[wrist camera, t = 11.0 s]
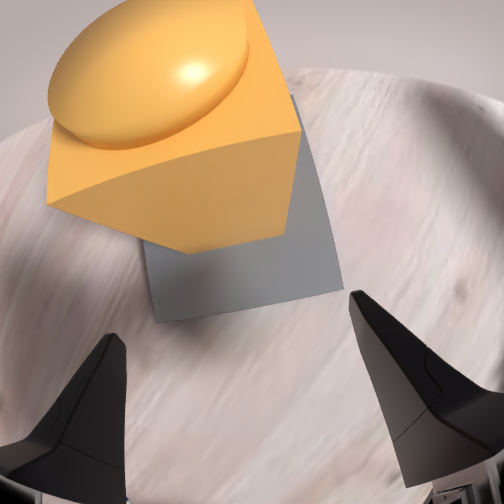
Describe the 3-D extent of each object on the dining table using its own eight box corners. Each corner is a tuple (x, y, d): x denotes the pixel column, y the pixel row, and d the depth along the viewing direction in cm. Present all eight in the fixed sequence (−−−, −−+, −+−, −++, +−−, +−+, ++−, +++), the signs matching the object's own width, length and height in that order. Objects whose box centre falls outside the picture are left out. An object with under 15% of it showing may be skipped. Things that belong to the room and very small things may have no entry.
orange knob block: (283, 234, 18) (305, 101, 4) (188, 254, 18) (19, 194, 5) (263, 147, 18) (242, -38, 5) (176, 168, 19) (58, 28, 5)
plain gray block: (340, 288, 18) (362, 290, 13) (161, 321, 19) (128, 332, 14) (292, 101, 20) (294, 60, 15) (140, 138, 20) (112, 107, 15)
